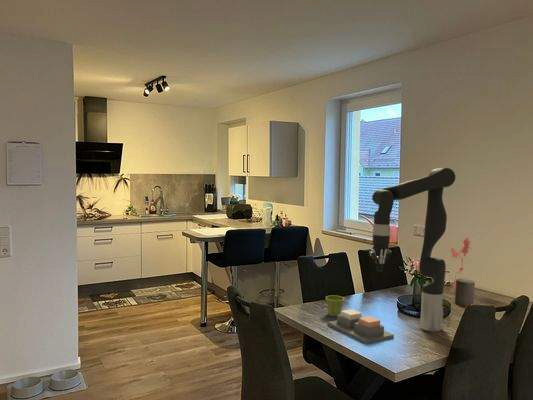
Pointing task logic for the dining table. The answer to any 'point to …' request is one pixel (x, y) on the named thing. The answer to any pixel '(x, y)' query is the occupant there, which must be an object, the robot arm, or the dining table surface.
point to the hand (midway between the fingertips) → (379, 271)
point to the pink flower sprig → (455, 254)
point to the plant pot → (334, 305)
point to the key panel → (360, 330)
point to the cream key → (351, 314)
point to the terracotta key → (369, 322)
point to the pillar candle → (464, 292)
